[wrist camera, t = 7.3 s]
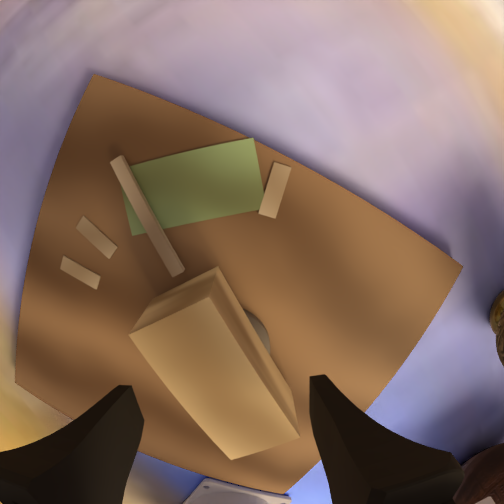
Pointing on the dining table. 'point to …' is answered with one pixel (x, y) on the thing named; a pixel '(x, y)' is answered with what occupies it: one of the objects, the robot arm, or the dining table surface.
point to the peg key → (211, 350)
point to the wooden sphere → (483, 477)
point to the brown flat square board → (204, 259)
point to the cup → (498, 324)
